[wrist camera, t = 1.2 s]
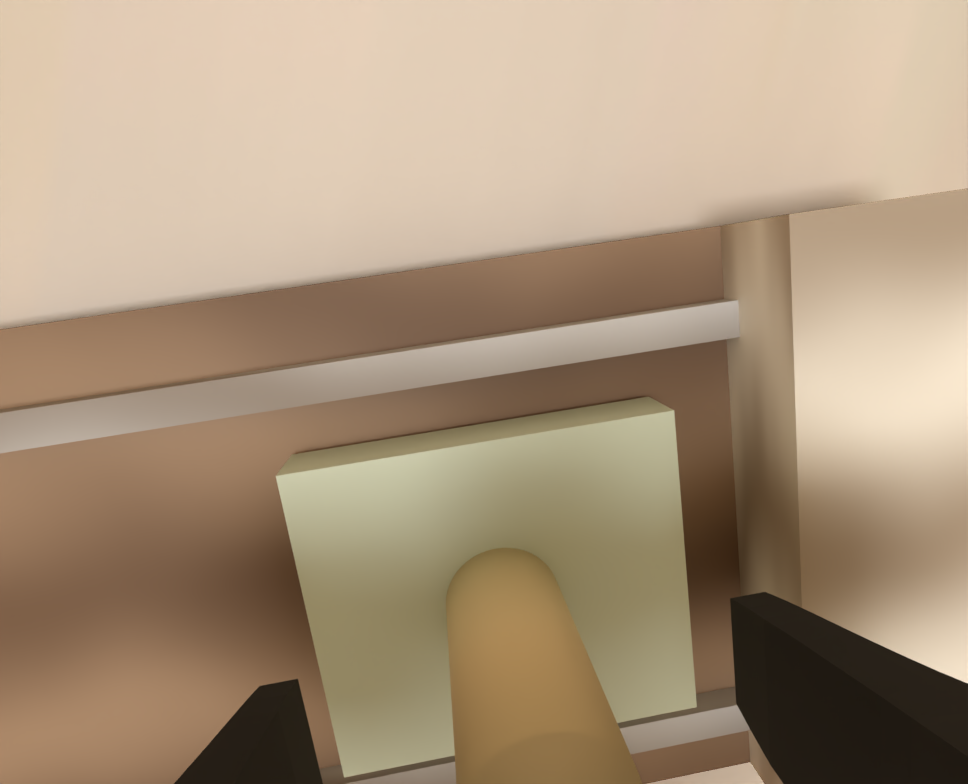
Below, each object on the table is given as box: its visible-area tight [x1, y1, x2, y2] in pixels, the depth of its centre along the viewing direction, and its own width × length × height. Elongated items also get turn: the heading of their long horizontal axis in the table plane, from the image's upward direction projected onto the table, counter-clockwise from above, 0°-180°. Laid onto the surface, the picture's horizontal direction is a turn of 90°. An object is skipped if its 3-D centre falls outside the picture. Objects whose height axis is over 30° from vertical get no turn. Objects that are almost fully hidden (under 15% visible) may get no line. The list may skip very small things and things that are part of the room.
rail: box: [0, 189, 968, 784], centre depth 13 cm, size 14×32×4 cm, turn 98°
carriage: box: [276, 397, 697, 784], centre depth 11 cm, size 7×8×6 cm
